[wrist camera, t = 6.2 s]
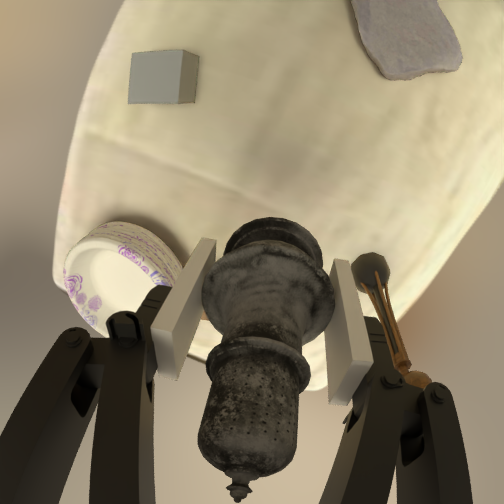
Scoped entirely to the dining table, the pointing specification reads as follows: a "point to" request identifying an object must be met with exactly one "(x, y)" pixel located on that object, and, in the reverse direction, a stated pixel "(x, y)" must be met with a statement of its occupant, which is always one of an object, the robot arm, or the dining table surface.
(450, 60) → the stone block
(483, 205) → the dining table surface
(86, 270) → the paper bowls
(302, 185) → the dining table surface
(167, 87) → the slate cube
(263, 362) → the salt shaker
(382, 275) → the wooden tabletop sculpture
